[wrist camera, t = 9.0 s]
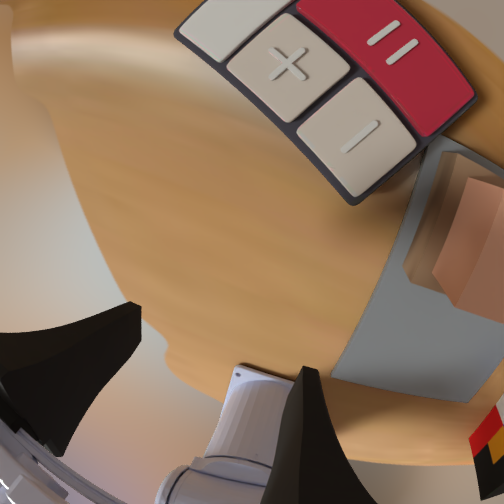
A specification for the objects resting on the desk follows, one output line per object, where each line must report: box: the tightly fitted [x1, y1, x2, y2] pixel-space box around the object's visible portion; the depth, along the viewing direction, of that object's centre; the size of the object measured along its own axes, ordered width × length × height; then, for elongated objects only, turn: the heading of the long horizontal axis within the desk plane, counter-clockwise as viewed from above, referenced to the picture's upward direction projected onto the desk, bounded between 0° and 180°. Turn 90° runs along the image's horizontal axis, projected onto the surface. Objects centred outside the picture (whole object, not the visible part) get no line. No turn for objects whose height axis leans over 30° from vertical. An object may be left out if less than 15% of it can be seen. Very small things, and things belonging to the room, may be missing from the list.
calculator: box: [174, 0, 478, 206], centre depth 13 cm, size 11×4×15 cm
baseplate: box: [331, 135, 504, 403], centre depth 17 cm, size 20×16×1 cm
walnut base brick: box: [402, 152, 504, 295], centre depth 14 cm, size 8×6×2 cm
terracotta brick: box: [432, 177, 504, 324], centre depth 11 cm, size 6×4×4 cm, turn 167°
